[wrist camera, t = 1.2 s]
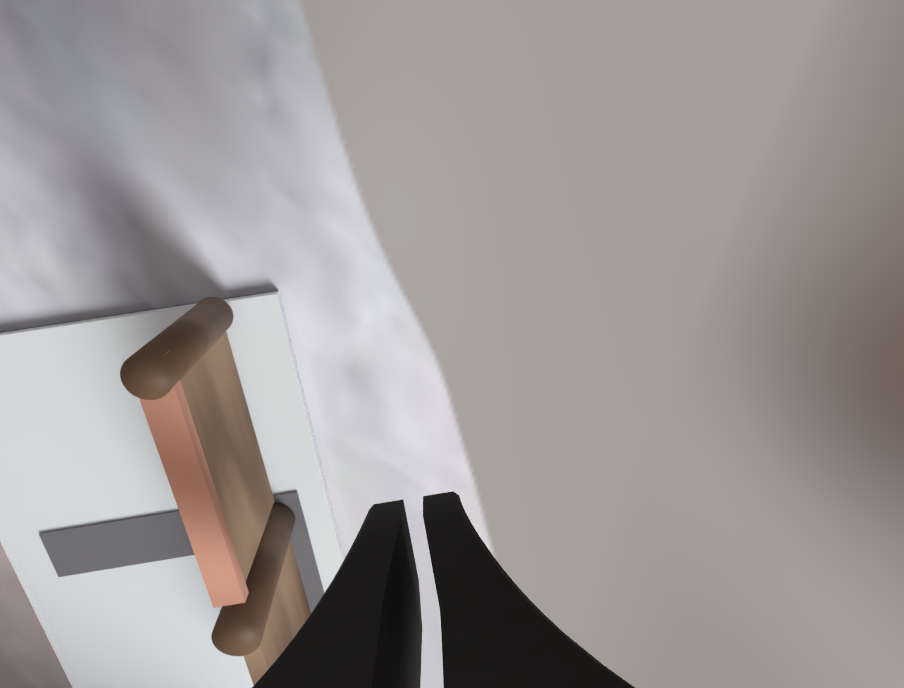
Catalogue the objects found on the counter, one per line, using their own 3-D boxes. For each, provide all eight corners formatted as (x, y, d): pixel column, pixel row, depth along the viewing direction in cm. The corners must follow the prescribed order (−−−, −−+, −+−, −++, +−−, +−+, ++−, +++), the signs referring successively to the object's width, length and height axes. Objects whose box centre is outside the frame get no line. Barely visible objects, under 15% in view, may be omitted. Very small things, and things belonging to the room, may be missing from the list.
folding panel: (284, 498, 21) (248, 607, 16) (251, 503, 21) (206, 614, 16) (228, 294, 18) (164, 349, 13) (190, 300, 18) (112, 358, 13)
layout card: (370, 664, 25) (369, 675, 24) (94, 712, 25) (88, 723, 24) (278, 291, 19) (275, 294, 19) (-85, 345, 19) (-98, 350, 18)
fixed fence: (339, 676, 24) (322, 822, 19) (307, 681, 24) (280, 830, 19) (291, 498, 21) (254, 614, 16) (253, 504, 21) (205, 623, 16)
